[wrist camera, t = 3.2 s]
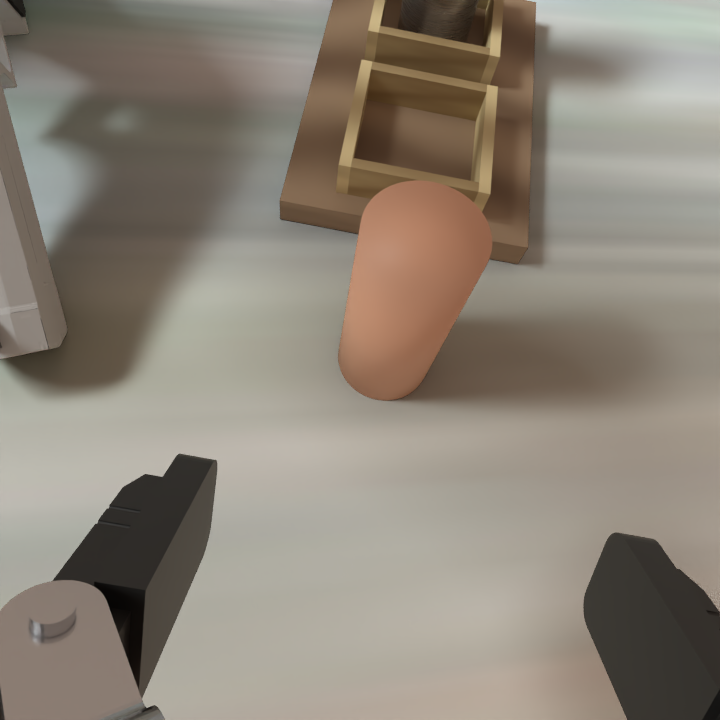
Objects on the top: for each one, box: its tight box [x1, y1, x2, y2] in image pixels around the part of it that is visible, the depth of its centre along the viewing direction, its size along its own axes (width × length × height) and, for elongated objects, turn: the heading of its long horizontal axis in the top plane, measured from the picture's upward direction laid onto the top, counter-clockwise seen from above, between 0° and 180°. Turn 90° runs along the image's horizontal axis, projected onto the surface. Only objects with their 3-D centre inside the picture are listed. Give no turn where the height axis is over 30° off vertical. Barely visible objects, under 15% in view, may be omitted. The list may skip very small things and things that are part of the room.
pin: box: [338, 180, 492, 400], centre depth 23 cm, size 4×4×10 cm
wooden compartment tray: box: [280, 0, 536, 264], centre depth 33 cm, size 20×13×4 cm, turn 171°
